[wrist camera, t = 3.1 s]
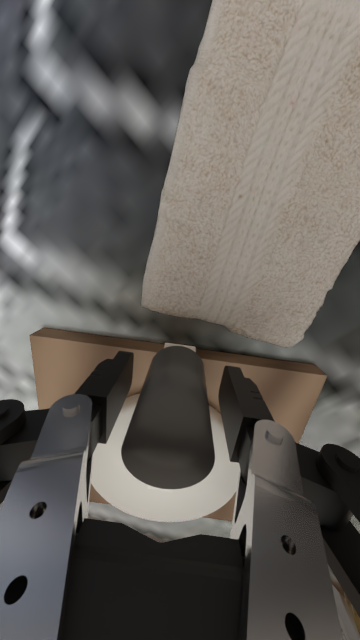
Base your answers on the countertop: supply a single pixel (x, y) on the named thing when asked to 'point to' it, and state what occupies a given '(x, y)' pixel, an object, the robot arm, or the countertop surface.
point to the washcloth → (262, 170)
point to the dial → (167, 446)
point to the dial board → (89, 350)
